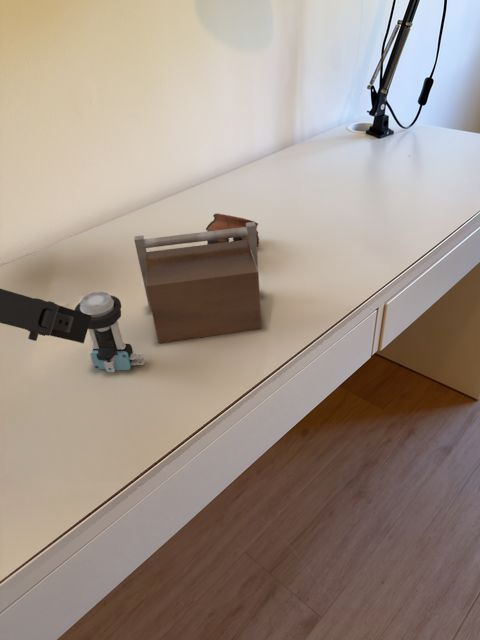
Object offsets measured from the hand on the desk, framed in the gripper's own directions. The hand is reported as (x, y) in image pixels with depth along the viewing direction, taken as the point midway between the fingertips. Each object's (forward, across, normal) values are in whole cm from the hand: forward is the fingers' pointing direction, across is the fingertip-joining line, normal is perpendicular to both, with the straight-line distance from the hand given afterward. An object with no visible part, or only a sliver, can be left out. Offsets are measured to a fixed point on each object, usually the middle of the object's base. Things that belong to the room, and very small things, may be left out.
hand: (30, 313), depth 52 cm
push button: (+17, 0, -4) cm, 17 cm away
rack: (+26, +5, +6) cm, 27 cm away
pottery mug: (+38, +1, +18) cm, 42 cm away
